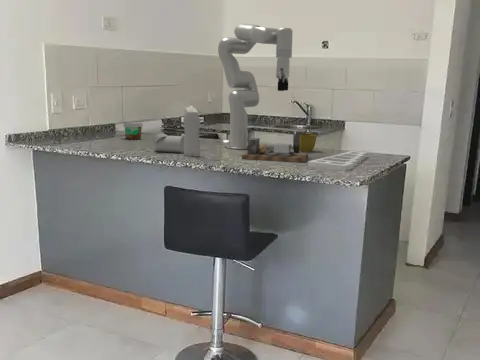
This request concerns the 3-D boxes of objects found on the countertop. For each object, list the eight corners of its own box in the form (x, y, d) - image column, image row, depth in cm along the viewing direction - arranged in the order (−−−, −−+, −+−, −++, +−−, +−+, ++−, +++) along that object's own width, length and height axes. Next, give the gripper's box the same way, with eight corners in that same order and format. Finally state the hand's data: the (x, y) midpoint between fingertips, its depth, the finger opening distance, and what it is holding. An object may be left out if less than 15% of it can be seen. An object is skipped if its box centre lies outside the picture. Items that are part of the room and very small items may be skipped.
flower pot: (300, 152, 282) (301, 135, 281) (294, 150, 291) (295, 133, 289) (316, 152, 285) (317, 135, 283) (309, 150, 293) (310, 133, 291)
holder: (351, 156, 276) (351, 151, 276) (384, 159, 266) (385, 154, 265) (307, 167, 241) (307, 161, 240) (344, 172, 230) (345, 165, 230)
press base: (241, 159, 258) (241, 140, 256) (248, 155, 271) (249, 137, 270) (304, 162, 250) (304, 143, 249) (308, 158, 264) (309, 139, 262)
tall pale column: (181, 155, 268) (180, 110, 264) (186, 154, 271) (186, 110, 267) (197, 157, 262) (197, 111, 258) (202, 156, 265) (202, 111, 261)
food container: (119, 139, 326) (119, 123, 324) (124, 138, 332) (124, 122, 330) (138, 140, 323) (137, 123, 321) (142, 139, 329) (142, 123, 327)
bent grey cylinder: (141, 149, 276) (178, 151, 270) (143, 129, 276) (179, 131, 270) (155, 153, 293) (190, 155, 287) (157, 133, 293) (192, 135, 288)
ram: (273, 152, 257) (274, 131, 255) (277, 150, 264) (277, 130, 262) (297, 153, 254) (298, 132, 252) (300, 151, 261) (301, 131, 259)
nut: (256, 154, 261) (257, 145, 260) (258, 153, 265) (259, 144, 264) (265, 154, 259) (266, 145, 259) (267, 153, 264) (267, 144, 263)
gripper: (279, 55, 269) (278, 90, 272) (272, 53, 252) (271, 90, 256) (294, 55, 267) (293, 90, 270) (288, 53, 250) (287, 91, 254)
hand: (282, 90), depth 263 cm, fingers open, 9 cm apart
